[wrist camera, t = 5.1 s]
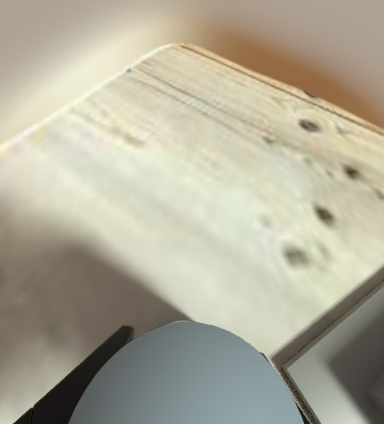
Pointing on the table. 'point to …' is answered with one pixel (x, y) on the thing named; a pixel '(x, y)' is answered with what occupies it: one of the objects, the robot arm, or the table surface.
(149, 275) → the table surface
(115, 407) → the pale blue rounded cylinder
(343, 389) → the grey square socket base
